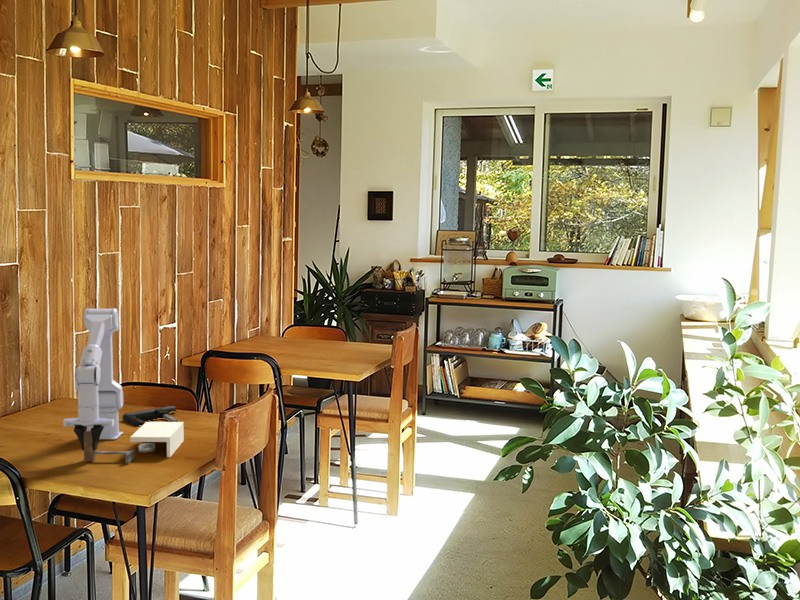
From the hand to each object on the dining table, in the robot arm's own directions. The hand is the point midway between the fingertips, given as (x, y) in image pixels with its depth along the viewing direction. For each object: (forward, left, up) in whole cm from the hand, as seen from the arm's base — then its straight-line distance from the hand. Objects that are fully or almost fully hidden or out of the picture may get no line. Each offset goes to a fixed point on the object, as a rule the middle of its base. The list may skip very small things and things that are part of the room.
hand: (89, 449), depth 251 cm
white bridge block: (+17, +13, -3) cm, 22 cm away
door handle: (+7, +48, -4) cm, 49 cm away
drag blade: (+6, 0, -3) cm, 7 cm away
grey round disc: (+14, +11, -4) cm, 18 cm away
